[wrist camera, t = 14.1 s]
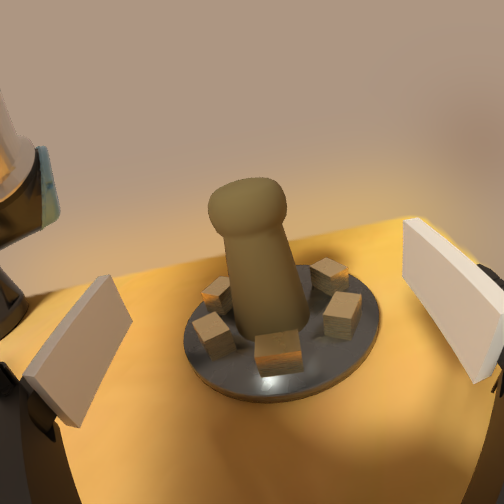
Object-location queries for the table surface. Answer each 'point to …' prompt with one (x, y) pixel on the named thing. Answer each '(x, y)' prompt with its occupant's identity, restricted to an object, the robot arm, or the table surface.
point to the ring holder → (285, 339)
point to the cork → (259, 257)
